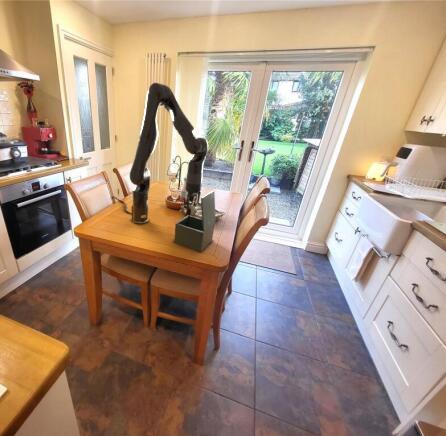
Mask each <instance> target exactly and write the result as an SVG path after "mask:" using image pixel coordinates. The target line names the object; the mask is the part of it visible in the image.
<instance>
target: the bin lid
mask: <svg viewBox="0 0 446 436" xmlns="http://www.w3.org/2000/svg"><path fill="white" fill-rule="evenodd" d="M215 197H216V196H215V190H212V191H210V192H208V193H207V194H205V195H204V196H202V197H200V203H201V209H202V227H203V232H205V231H206V230H207V229H208V228H209V227H210V226H212V225H213V224H214V223H215V224H216V220H215V209H216V198H215ZM215 224H214V225H215Z"/></svg>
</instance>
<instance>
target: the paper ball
mask: <svg viewBox="0 0 446 436" xmlns="http://www.w3.org/2000/svg"><path fill="white" fill-rule="evenodd" d="M186 210H187V209H186ZM196 212H197V209H196V207H195V206H193V205H192V207H191V215H190V216H193V215H195V214H196Z"/></svg>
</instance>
